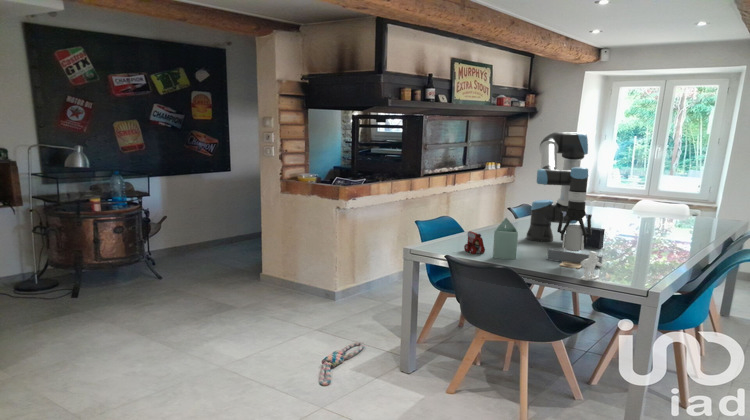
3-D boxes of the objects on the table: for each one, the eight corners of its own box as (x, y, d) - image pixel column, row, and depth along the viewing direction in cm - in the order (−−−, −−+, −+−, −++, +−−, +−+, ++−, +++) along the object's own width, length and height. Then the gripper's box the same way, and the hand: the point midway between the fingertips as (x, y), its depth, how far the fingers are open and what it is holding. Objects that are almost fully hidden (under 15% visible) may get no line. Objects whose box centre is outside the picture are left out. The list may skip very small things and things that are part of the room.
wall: (547, 259, 243) (548, 249, 242) (549, 257, 246) (549, 247, 245) (600, 267, 230) (601, 256, 229) (601, 265, 234) (602, 255, 233)
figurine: (590, 282, 206) (592, 254, 204) (577, 277, 212) (579, 250, 210) (604, 279, 210) (606, 252, 209) (591, 275, 216) (593, 249, 214)
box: (603, 247, 273) (605, 228, 271) (599, 249, 268) (601, 230, 266) (584, 244, 280) (585, 226, 278) (579, 245, 275) (581, 227, 274)
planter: (505, 261, 237) (507, 221, 234) (492, 257, 243) (494, 218, 240) (526, 256, 247) (528, 218, 244) (513, 253, 253) (515, 216, 250)
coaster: (559, 266, 230) (559, 264, 230) (563, 262, 238) (563, 260, 238) (579, 269, 226) (579, 267, 226) (582, 264, 233) (583, 263, 233)
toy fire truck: (476, 255, 247) (477, 235, 245) (462, 250, 258) (463, 230, 256) (487, 254, 250) (488, 234, 248) (473, 249, 261) (474, 230, 259)
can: (561, 248, 234) (563, 223, 232) (576, 248, 235) (578, 223, 233) (568, 251, 227) (571, 226, 225) (584, 251, 227) (586, 226, 225)
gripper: (552, 199, 229) (548, 247, 233) (599, 203, 219) (595, 253, 222) (555, 198, 236) (552, 244, 239) (601, 201, 225) (597, 250, 229)
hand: (572, 248), depth 231 cm, fingers closed on can, 7 cm apart
